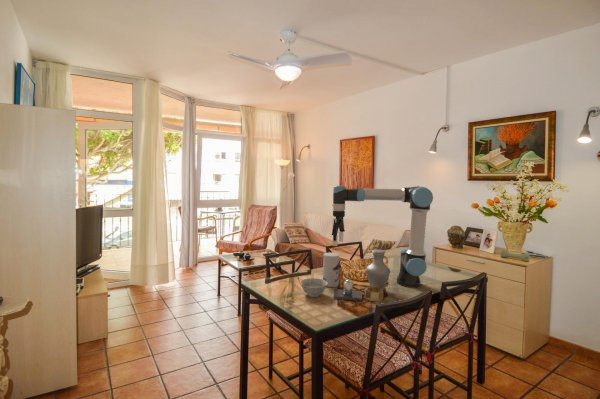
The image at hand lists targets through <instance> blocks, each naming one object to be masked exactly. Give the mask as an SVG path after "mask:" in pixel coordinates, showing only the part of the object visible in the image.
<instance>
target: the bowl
mask: <svg viewBox="0 0 600 399" xmlns="http://www.w3.org/2000/svg"><path fill="white" fill-rule="evenodd" d="M299 283H300V286H301V288H302V291H303V292H305V294H307V296H308V297H311V298H317V297H320V295H321V294H323V293H324V292H325V290H326V289H327V284H328V283H327V281H325V280H323V278H319V277H316V278H314V277H313V278H312V277H311V278H310V277H309V278H304V279H302V280H301V281H300V282H299Z"/></svg>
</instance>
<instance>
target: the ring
mask: <svg viewBox="0 0 600 399" xmlns="http://www.w3.org/2000/svg"><path fill="white" fill-rule="evenodd" d="M364 299H365V300H368V301H370V302H380V300H381V301H383V300H384V289H381V288H379V287H371V286H370V285H369V286H368V287H367V286H366V287H365V288H364Z"/></svg>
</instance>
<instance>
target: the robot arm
mask: <svg viewBox="0 0 600 399" xmlns="http://www.w3.org/2000/svg"><path fill="white" fill-rule="evenodd" d="M332 192H333V194H332V199H333V200H332V216H333V217H335V218H334V219H333V225H332V230H331V236H332V247H338V242H340V243H344V233H345V231H346V230H345V222H344V218H345V217H346V202H357V203H358V202H365V201H394V202H395V201H396V202H397V201H401V202H402V203H408V204H409V210H411V219H410V229H409V240H408V248H402V249H401V250H400V260H399V261H400V262H399V273H398V275H397V278H396V284H398V285H400V286H402V287H406V288H407V287H408V288H418V287H420V286H421V283H422V282H421V278H420V277H421V276H422V275H424V274H425V272H426V271H427V267H428V266H427V263H426V254H427V253H425V251H424V249H425V248H424V247H425V237H426V236H425V235H426V226H427V225H426V224H427V217H428V216H427V215H428V212H429V211H430V210H431V204H432V203H433V201H434V195H433V192H432V191H431V189H429V188H428V187H425V186H408V187H402V188H358V187H357V188H356V187H352V188H346V186H345V185H334V186H333V190H332Z"/></svg>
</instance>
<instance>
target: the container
mask: <svg viewBox="0 0 600 399" xmlns="http://www.w3.org/2000/svg"><path fill="white" fill-rule="evenodd" d="M322 262H323V265H322V266H323V268H322V280H325V281H327V283H328V284H327V286H326V288H335V287H338V286H339V279H340V278H339V272H340V253H336V252H324V253H323V261H322Z"/></svg>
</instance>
